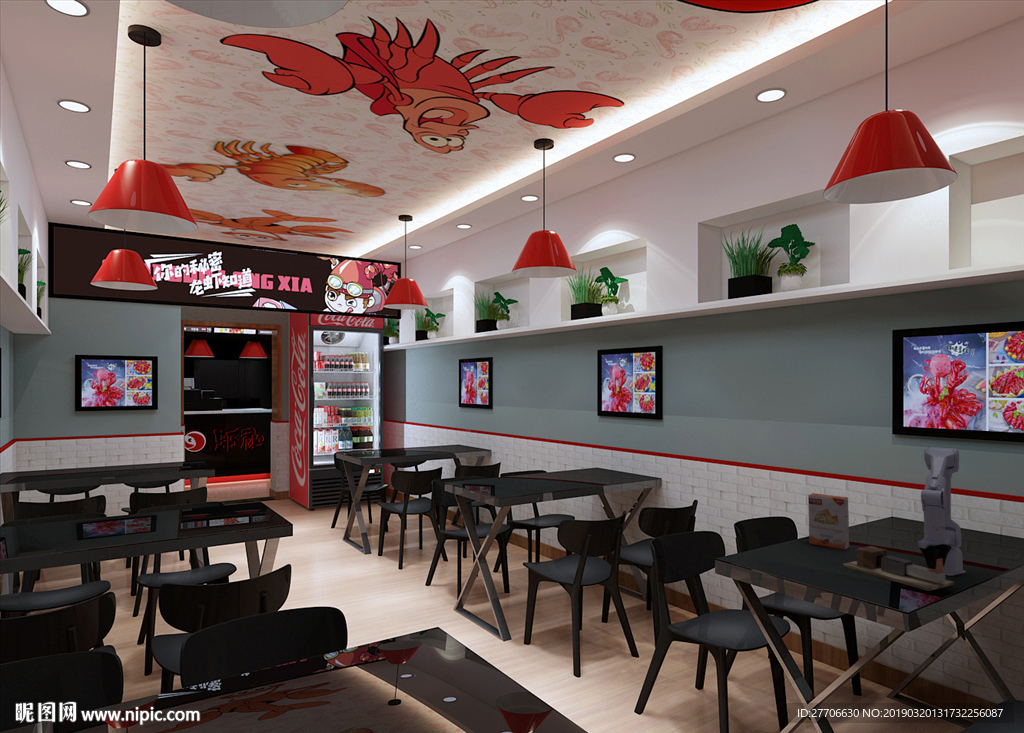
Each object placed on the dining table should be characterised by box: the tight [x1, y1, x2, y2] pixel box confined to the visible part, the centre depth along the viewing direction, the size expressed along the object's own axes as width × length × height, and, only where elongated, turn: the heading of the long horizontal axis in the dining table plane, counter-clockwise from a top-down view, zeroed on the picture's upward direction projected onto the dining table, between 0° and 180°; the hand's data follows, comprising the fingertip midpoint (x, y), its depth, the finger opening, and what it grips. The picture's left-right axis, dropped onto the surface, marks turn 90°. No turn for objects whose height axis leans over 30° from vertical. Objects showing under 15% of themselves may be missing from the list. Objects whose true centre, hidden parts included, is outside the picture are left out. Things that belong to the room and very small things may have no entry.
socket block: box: [856, 545, 888, 569], centre depth 219 cm, size 8×6×6 cm
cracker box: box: [807, 492, 850, 551], centre depth 250 cm, size 14×6×21 cm, turn 45°
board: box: [842, 560, 955, 592], centre depth 211 cm, size 14×30×1 cm, turn 25°
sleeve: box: [881, 554, 914, 577], centre depth 211 cm, size 5×8×5 cm, turn 25°
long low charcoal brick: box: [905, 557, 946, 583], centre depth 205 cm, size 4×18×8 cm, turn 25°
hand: (935, 567), depth 199 cm, fingers closed on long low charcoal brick, 4 cm apart
